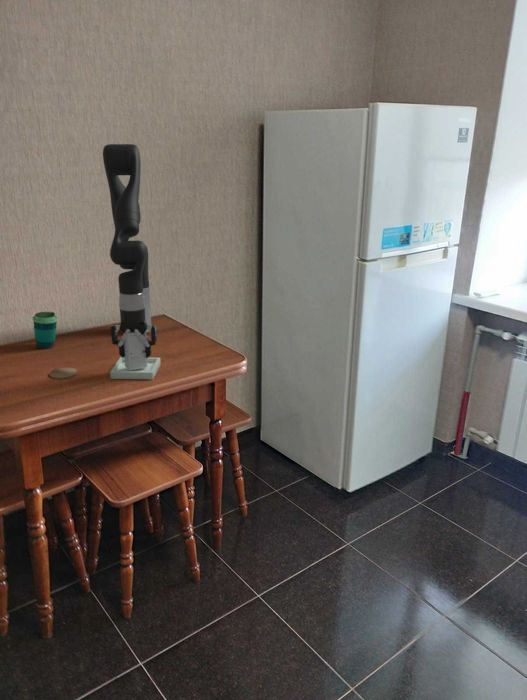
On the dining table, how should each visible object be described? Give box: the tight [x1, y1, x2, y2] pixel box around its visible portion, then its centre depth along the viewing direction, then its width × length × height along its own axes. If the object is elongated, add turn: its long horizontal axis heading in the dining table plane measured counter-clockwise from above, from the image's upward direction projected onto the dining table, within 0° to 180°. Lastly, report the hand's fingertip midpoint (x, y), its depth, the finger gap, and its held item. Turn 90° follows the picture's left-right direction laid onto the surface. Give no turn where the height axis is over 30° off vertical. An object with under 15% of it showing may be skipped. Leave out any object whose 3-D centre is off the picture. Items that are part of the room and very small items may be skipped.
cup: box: [32, 311, 58, 350], centre depth 199 cm, size 8×8×12 cm
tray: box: [109, 356, 162, 380], centre depth 180 cm, size 13×13×2 cm
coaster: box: [49, 367, 78, 380], centre depth 177 cm, size 8×8×1 cm
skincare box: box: [122, 332, 147, 370], centre depth 178 cm, size 6×4×12 cm
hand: (135, 356), depth 179 cm, fingers closed on skincare box, 7 cm apart
